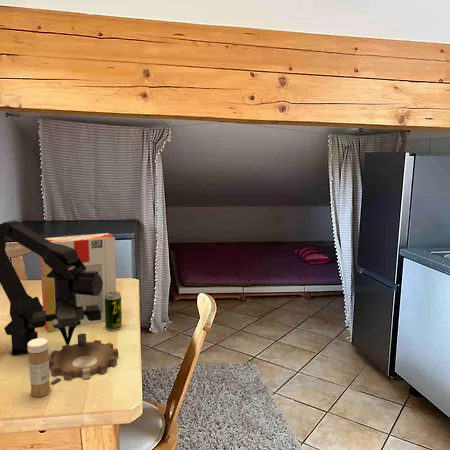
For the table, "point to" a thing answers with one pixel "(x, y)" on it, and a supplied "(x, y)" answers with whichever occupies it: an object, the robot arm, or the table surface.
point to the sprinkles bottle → (39, 367)
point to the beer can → (113, 311)
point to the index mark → (55, 381)
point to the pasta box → (93, 261)
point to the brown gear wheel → (83, 358)
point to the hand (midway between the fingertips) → (67, 343)
